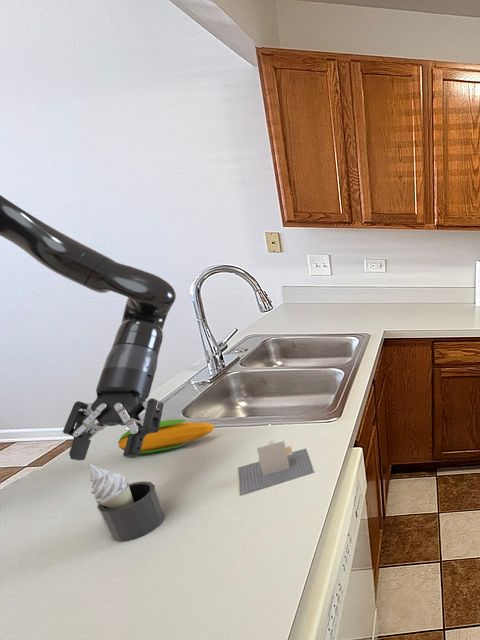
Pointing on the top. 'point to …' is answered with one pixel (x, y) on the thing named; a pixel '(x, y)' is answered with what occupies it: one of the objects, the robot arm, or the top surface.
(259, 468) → the architectural model
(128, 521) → the cone holder
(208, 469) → the top surface
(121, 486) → the ice cream cone
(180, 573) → the top surface
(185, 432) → the corn
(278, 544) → the top surface
